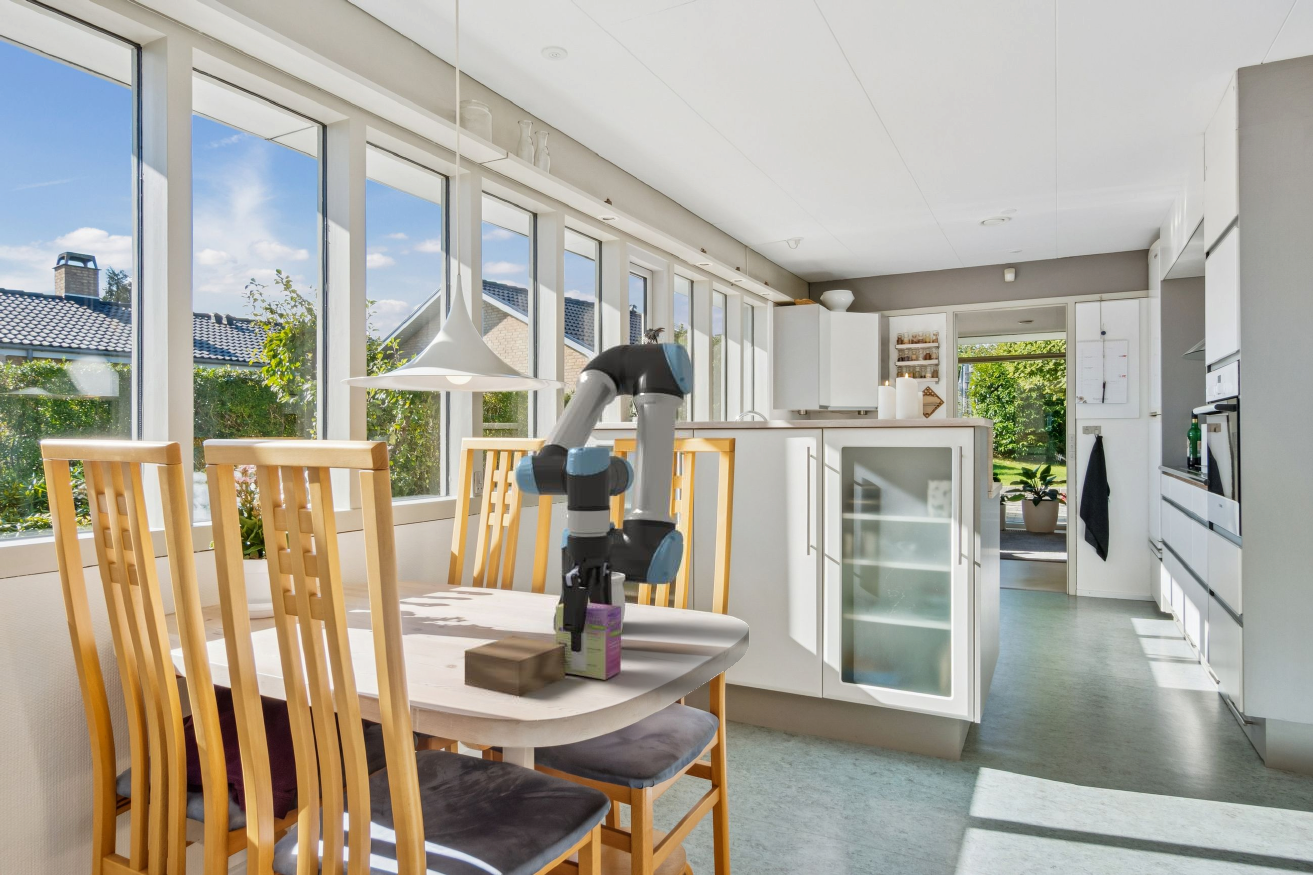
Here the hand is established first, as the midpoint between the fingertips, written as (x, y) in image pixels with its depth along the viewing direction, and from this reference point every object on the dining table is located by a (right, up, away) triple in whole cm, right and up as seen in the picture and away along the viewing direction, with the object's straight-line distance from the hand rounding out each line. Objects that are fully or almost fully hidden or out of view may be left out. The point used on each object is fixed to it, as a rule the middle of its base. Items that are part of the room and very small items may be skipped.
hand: (588, 664), depth 138 cm
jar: (+1, -2, +15) cm, 15 cm away
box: (0, -2, 0) cm, 2 cm away
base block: (-12, -2, -4) cm, 13 cm away
